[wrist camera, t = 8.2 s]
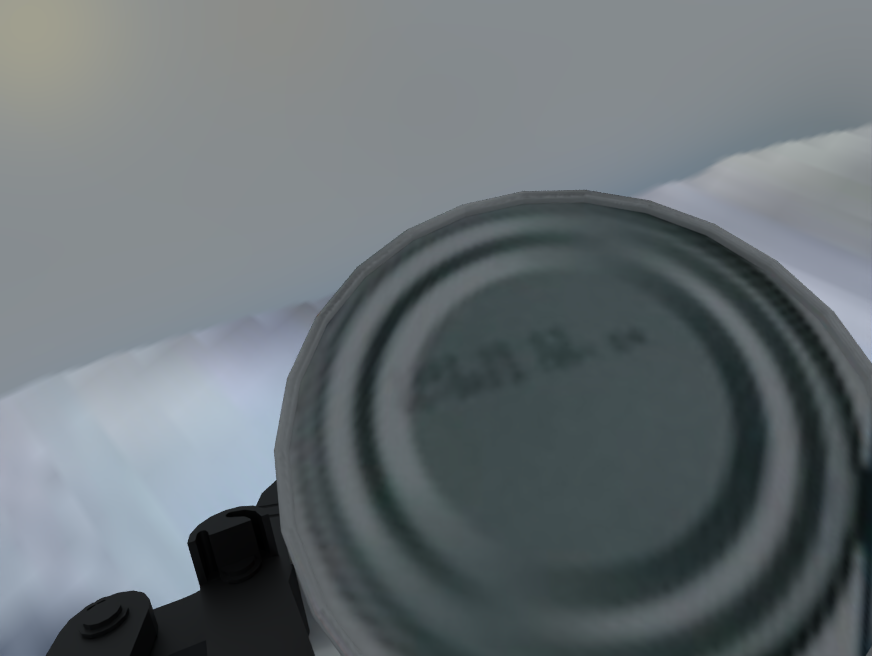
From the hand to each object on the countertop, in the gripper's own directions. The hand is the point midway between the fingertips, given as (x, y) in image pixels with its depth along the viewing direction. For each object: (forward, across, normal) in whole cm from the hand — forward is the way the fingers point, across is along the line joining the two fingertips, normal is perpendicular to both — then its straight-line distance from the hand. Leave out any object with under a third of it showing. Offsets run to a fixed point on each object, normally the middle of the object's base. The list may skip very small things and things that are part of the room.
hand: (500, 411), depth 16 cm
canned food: (0, 0, -5) cm, 5 cm away
